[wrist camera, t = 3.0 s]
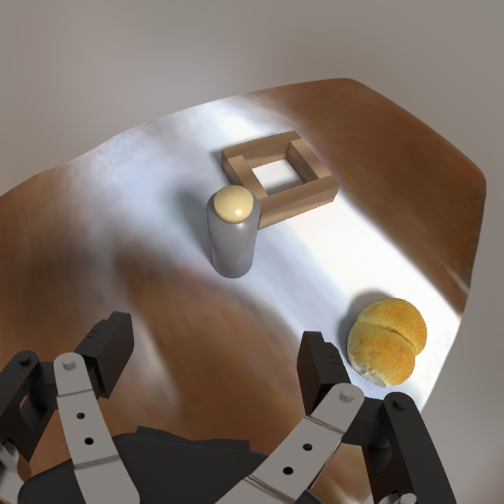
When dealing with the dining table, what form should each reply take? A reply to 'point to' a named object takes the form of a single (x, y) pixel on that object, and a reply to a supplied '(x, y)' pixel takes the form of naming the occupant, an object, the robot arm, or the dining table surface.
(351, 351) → the bread roll
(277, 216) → the socket
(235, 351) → the dining table surface
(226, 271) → the plug
